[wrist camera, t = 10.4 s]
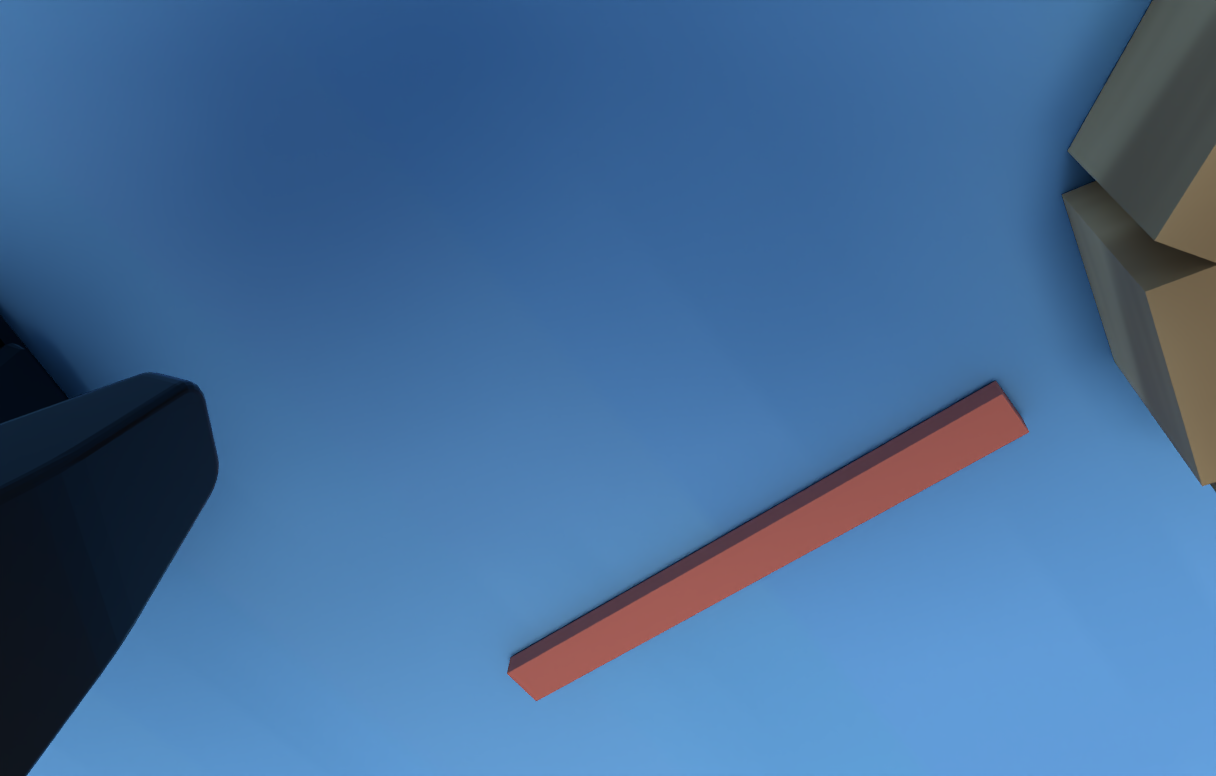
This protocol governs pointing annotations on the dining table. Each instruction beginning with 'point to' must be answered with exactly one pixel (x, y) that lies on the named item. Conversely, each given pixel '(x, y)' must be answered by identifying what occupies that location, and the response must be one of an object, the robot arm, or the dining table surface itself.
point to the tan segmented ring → (1157, 220)
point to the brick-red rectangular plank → (773, 539)
